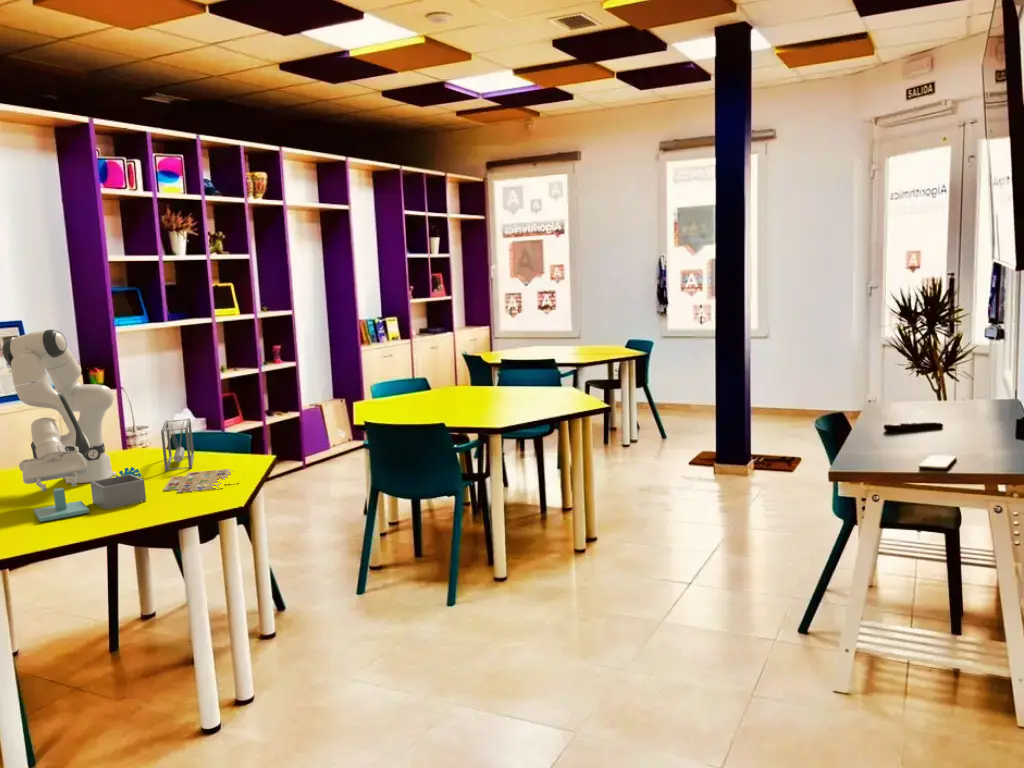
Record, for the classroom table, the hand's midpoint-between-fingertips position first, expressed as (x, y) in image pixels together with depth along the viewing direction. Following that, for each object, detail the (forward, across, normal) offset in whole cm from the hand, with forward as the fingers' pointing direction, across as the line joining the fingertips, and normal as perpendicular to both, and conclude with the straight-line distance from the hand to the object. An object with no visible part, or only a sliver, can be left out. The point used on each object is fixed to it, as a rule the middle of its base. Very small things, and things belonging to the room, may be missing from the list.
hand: (59, 487), depth 296 cm
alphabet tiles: (+2, +51, +12) cm, 53 cm away
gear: (-7, +26, +20) cm, 34 cm away
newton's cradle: (-28, +54, +42) cm, 74 cm away
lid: (+8, -1, +3) cm, 9 cm away
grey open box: (+8, +18, +5) cm, 20 cm away
